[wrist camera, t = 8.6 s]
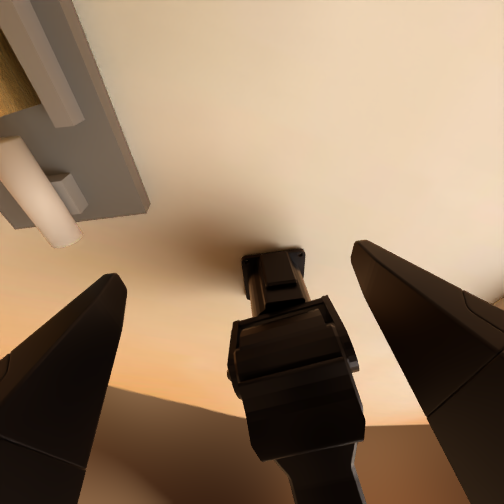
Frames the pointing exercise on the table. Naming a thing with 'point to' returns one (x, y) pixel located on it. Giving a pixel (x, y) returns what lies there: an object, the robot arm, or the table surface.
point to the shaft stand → (62, 131)
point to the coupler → (14, 82)
